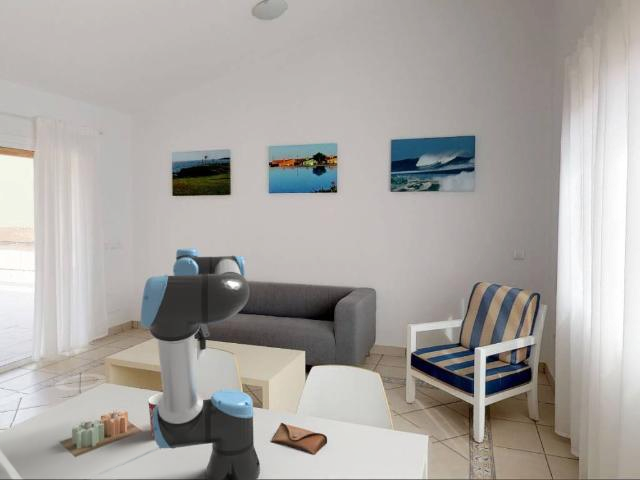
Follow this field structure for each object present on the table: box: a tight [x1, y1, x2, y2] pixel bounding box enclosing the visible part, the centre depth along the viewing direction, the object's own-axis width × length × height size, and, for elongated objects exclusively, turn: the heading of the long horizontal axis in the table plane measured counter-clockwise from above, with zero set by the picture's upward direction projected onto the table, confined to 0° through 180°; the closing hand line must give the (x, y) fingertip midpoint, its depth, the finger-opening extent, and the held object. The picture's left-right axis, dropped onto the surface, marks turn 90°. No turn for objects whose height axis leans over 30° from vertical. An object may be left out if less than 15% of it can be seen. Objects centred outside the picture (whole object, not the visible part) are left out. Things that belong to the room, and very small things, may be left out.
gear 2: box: [99, 410, 129, 437], centre depth 147 cm, size 9×8×5 cm
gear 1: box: [71, 419, 104, 449], centre depth 140 cm, size 9×8×5 cm
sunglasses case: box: [269, 422, 328, 456], centre depth 143 cm, size 18×7×7 cm, turn 63°
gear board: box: [59, 412, 143, 458], centre depth 144 cm, size 13×21×8 cm, turn 139°
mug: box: [147, 392, 163, 439], centre depth 147 cm, size 13×9×14 cm
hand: (189, 354), depth 150 cm, fingers open, 13 cm apart
